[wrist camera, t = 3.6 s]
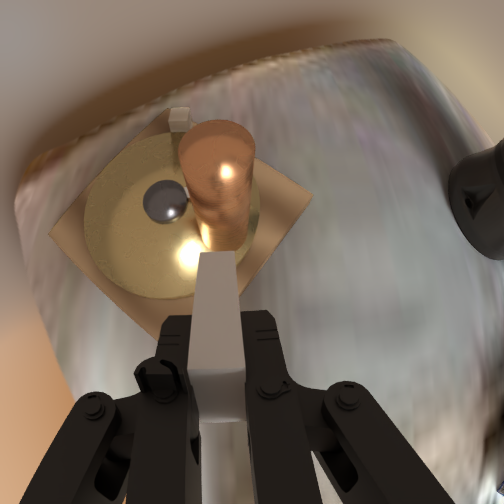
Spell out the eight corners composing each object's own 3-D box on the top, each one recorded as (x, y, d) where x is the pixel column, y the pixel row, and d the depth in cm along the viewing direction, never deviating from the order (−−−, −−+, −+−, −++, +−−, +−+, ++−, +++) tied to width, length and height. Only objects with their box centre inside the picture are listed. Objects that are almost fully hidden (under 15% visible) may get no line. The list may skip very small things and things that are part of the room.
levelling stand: (170, 118, 35) (163, 90, 30) (309, 203, 32) (320, 179, 27) (56, 240, 30) (33, 223, 25) (189, 362, 27) (179, 366, 22)
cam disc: (167, 118, 32) (144, 22, 19) (293, 195, 30) (327, 96, 17) (61, 230, 28) (-16, 163, 15) (181, 339, 25) (128, 331, 12)
